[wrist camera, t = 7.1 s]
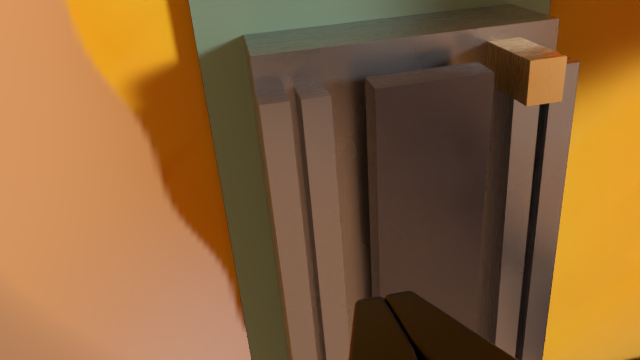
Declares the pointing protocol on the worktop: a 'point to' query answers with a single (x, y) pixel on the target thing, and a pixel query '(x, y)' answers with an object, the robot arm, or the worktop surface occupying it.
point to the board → (241, 135)
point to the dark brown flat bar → (428, 182)
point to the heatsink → (352, 164)
